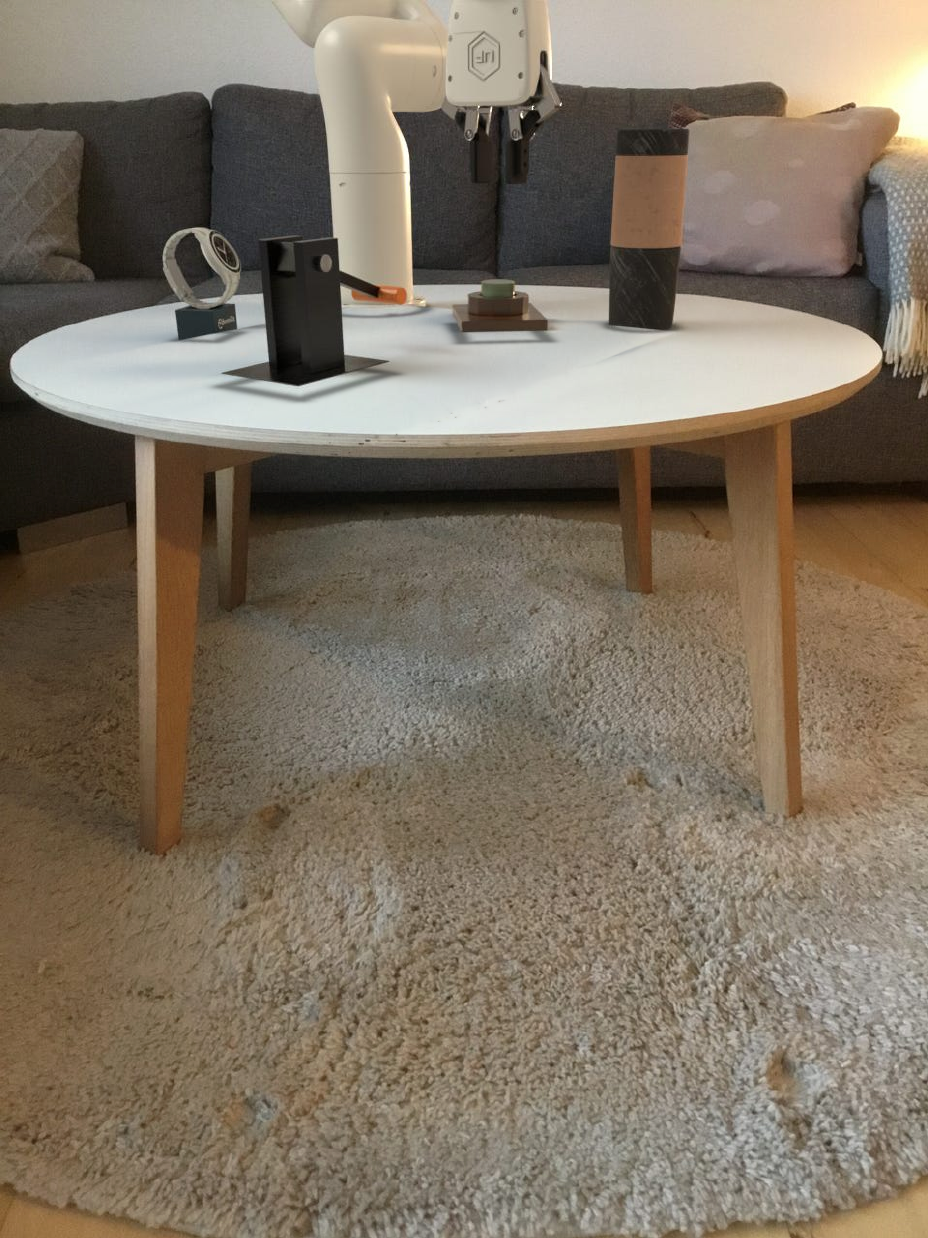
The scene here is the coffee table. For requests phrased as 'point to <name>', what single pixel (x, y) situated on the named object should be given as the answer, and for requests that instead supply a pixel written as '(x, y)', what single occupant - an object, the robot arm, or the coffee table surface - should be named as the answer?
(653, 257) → the travel mug
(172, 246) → the watch
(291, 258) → the switch lever
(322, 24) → the robot arm
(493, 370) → the coffee table surface
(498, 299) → the button block
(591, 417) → the coffee table surface
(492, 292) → the warm button
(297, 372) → the switch bracket
